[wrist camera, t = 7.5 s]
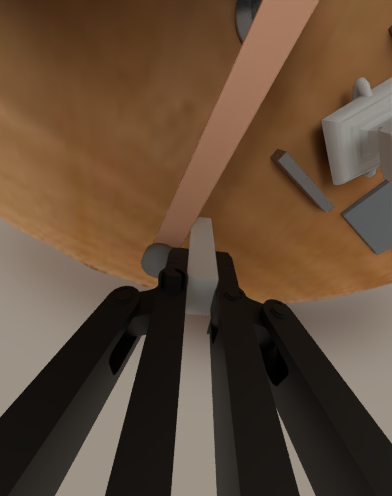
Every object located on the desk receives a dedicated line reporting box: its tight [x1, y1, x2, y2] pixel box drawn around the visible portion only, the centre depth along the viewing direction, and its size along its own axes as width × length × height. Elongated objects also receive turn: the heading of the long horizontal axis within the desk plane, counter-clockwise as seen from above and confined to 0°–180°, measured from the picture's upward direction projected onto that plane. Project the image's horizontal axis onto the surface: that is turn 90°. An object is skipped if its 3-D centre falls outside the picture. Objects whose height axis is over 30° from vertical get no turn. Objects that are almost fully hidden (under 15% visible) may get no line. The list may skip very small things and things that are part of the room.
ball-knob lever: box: [141, 0, 319, 278], centre depth 9 cm, size 20×4×2 cm, turn 153°
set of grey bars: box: [235, 0, 392, 213], centre depth 13 cm, size 20×13×10 cm, turn 52°
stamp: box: [321, 77, 392, 185], centre depth 15 cm, size 9×7×8 cm
